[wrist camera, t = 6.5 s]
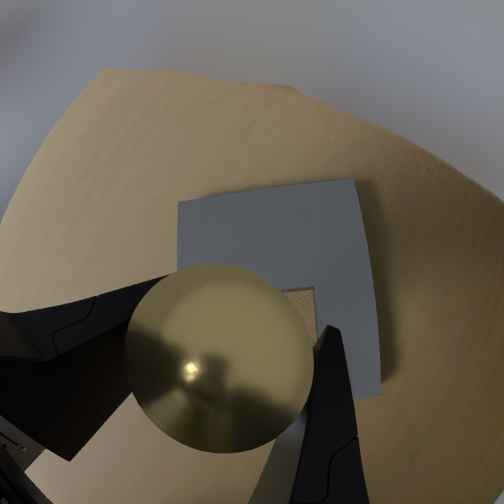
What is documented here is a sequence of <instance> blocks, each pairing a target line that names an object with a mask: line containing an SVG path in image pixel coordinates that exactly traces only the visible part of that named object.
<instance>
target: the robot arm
mask: <svg viewBox="0 0 504 504" xmlns="http://www.w3.org/2000/svg"><path fill="white" fill-rule="evenodd" d="M169 275H170V274H169ZM169 275H165V276H162V277H159V278H155V279H152V280H148V281H145V282H141V283H138V284H135V285H131V286H128V287H124V288H121V289H117V290H114V291H111V292H107V293H104V294H100V295H98V297H97V296H93V297H90V298H86V299H83V300H79V301H75V302H71V303H67V304H62V305H58V306H53V307H48V308H42V309H37V310H32V311H26V312H20V313H7V312H2V311H0V504H53V503H52V502H51V501H50V500H49V499H48V498H47V497H46V496H45V495H44V494H43V493H42V492H41V491H40V490H39V489H38V488H37V486H36V485H35V484H34V483H33V482H32V481H31V480H30V479H29V477H28V476H27V475H26V474H25V473H24V471H25V470H26V469H27V468H28V467H29V466H30V465H31V464H32V463H33V462H34V460H35V459H36V458H37V457H38V456H39V455H40V454H41V453H42V452H43V451H44V450H45V449H46V448H47V449H48V450H50V451H51V452H53V453H55V454H56V455H58V456H60V457H61V458H63V459H65V460H67V461H69V462H70V461H71V460H72V459H73V458H74V457H75V456H76V455H77V453H78V452H79V451H80V450H81V449H82V448H83V447H84V446H85V444H86V443H87V442H88V441H89V440H90V439H91V438H92V437H93V435H94V434H95V433H96V432H97V431H98V430H99V429H100V428H101V426H102V425H103V424H104V422H106V421H107V419H108V418H109V417H110V416H111V415H112V414H113V413H114V412H115V410H116V409H117V408H118V407H119V406H120V405H121V404H122V402H123V401H124V400H125V399H126V398H127V397H128V396H129V395H130V393H131V392H132V390H131V387H130V384H129V381H128V377H127V373H126V368H125V359H124V348H125V338H126V334H127V329H128V326H129V323H130V320H131V317H132V315H133V313H134V311H135V309H136V307H137V306H138V304H139V303H140V301H141V300H142V298H143V297H144V296H145V295H146V294H147V292H148V291H149V290H150V289H151V288H152V287H153V286H155V285H156V284H157V283H158V282H159V281H161V280H162V279H164V278H165V277H167V276H169ZM313 358H314V372H313V379H312V385H311V389H310V392H309V395H308V398H307V401H306V403H305V405H304V407H303V409H302V411H301V412H300V414H299V415H298V416H297V418H296V419H295V421H294V422H293V423H292V424H291V425H290V426H289V427H288V428H287V429H286V430H285V431H284V432H283V433H282V434H280V435H279V436H278V437H276V440H275V443H274V445H273V448H272V450H271V452H270V455H269V457H268V460H267V462H266V465H265V467H264V469H263V472H262V474H261V476H260V478H259V481H258V483H257V485H256V487H255V490H254V492H253V494H252V496H251V498H250V500H249V502H248V504H370V503H369V498H368V493H367V489H366V484H365V479H364V473H363V468H362V461H361V454H360V447H359V438H358V437H357V435H358V431H357V423H356V416H355V409H354V402H353V396H352V390H351V384H350V378H349V372H348V366H347V361H346V356H345V350H344V345H343V340H342V335H341V331H340V329H338V328H336V327H334V326H331V325H327V326H326V327H325V328H324V330H323V332H322V334H321V335H320V337H319V339H318V340H317V342H316V344H315V346H314V348H313Z"/></svg>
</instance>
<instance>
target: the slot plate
mask: <svg viewBox="0 0 504 504" xmlns="http://www.w3.org/2000/svg"><path fill="white" fill-rule="evenodd" d="M177 261H178V271H179V270H181V269H185V268H188V267H191V266H196V265H202V264H222V265H230V266H234V267H239V268H242V269H245V270H247V271H250V272H253V273H255V274H257V275H259V276H260V277H262V278H264V279H266V280H267V281H269V282H270V283H271V284H273V285H274V286H275V287H277V288H278V289H279V290H280V291H281V292H292V291H301V290H310V289H313V297H314V307H315V318H316V330H317V340H318V339H319V337H320V335H321V334H322V332H323V330H324V328H325V327H326V326H327V325H331V326H334V327H336V328H338V329H340V331H341V335H342V340H343V345H344V350H345V356H346V361H347V366H348V372H349V378H350V384H351V390H352V396H353V400H354V399H360V398H366V397H371V396H376V395H381V368H380V347H379V333H378V321H377V311H376V301H375V293H374V285H373V277H372V270H371V264H370V257H369V251H368V245H367V239H366V234H365V229H364V223H363V218H362V214H361V209H360V204H359V200H358V195H357V191H356V187H355V182H354V179H345V180H334V181H324V182H314V183H305V184H296V185H288V186H279V187H272V188H264V189H257V190H250V191H243V192H236V193H230V194H223V195H217V196H211V197H205V198H199V199H193V200H188V201H182V202H178V231H177Z"/></svg>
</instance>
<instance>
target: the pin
mask: <svg viewBox="0 0 504 504" xmlns="http://www.w3.org/2000/svg"><path fill="white" fill-rule="evenodd" d="M124 359H125V368H126V373H127V377H128V381H129V384H130V387H131V390H132V392H133V394H134V396H135V398H136V400H137V402H138V404H139V405H140V407H141V408H142V410H143V411H144V413H145V414H146V415H147V416H148V418H149V419H150V420H151V421H152V422H153V423H154V424H155V425H156V426H157V427H158V428H159V429H160V430H161V431H163V432H164V433H165V434H167V435H168V436H170V437H171V438H173V439H174V440H176V441H178V442H180V443H182V444H184V445H186V446H189V447H191V448H194V449H198V450H201V451H205V452H212V453H237V452H243V451H247V450H251V449H255V448H257V447H260V446H262V445H264V444H266V443H268V442H270V441H272V440H273V439H275V438H276V437H278V436H279V435H280V434H282V433H283V432H284V431H285V430H286V429H287V428H288V427H289V426H290V425H291V424H292V423H293V422H294V421H295V419H296V418H297V416H298V415H299V414H300V412H301V411H302V409H303V407H304V405H305V403H306V401H307V398H308V395H309V392H310V389H311V385H312V379H313V372H314V358H313V350H312V344H311V341H310V337H309V333H308V331H307V329H306V326H305V324H304V322H303V319H302V318H301V316H300V314H299V313H298V311H297V309H296V308H295V307H294V305H293V304H292V303H291V302H290V300H289V299H288V298H287V297H286V296H285V295H284V294H283V293H282V292H281V291H280V290H279V289H278V288H277V287H275V286H274V285H273V284H271V283H270V282H269V281H267V280H266V279H264V278H262V277H260V276H259V275H257V274H255V273H253V272H250V271H247V270H245V269H242V268H239V267H234V266H230V265H222V264H202V265H196V266H191V267H188V268H185V269H181V270H179V271H177V272H175V273H172V274H170V275H169V276H167V277H165V278H164V279H162V280H161V281H159V282H158V283H157V284H156V285H155V286H153V287H152V288H151V289H150V290H149V291H148V292H147V294H146V295H145V296H144V297H143V298H142V300H141V301H140V303H139V304H138V306H137V307H136V309H135V311H134V313H133V315H132V317H131V320H130V323H129V326H128V329H127V334H126V338H125V348H124Z"/></svg>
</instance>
